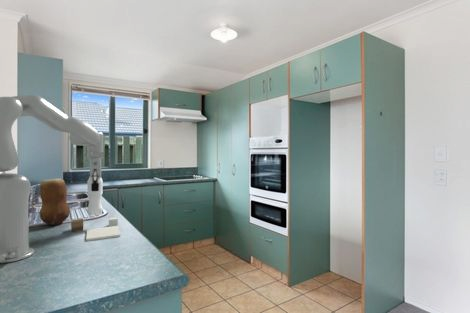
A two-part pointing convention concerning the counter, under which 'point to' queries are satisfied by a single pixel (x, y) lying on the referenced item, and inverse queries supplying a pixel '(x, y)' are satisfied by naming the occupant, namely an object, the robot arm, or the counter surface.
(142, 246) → the counter surface
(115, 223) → the pale grey block
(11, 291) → the counter surface
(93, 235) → the placemat
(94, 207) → the water bottle
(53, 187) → the butternut squash
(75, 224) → the walnut block
